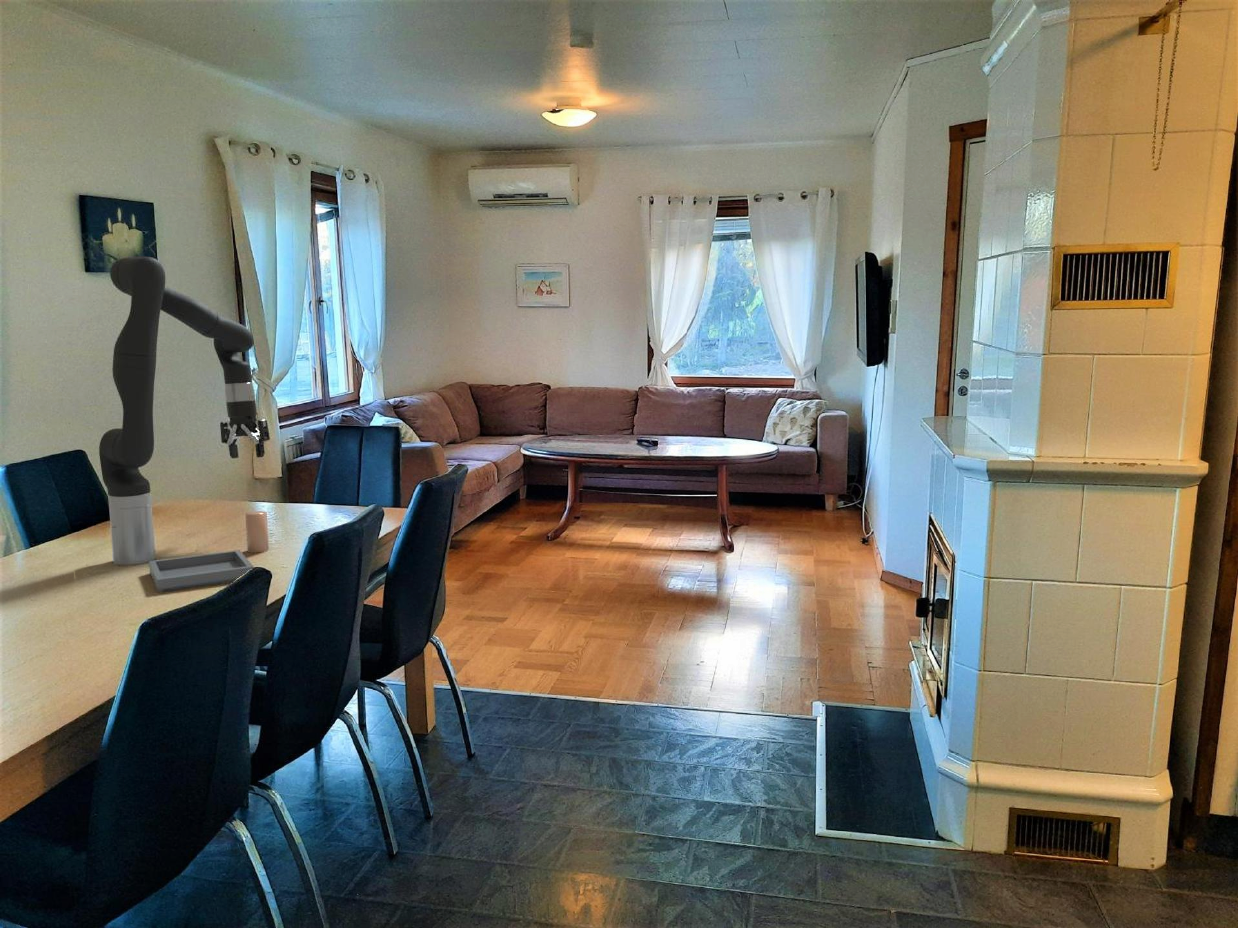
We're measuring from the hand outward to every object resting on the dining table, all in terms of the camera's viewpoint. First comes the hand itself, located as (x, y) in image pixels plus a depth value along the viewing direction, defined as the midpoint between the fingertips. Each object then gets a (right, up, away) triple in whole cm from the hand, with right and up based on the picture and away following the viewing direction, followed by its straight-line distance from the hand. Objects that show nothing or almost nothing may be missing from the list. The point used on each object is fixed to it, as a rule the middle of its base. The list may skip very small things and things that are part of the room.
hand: (247, 457), depth 244 cm
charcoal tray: (+6, -28, -39) cm, 48 cm away
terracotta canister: (+9, -25, -15) cm, 30 cm away
